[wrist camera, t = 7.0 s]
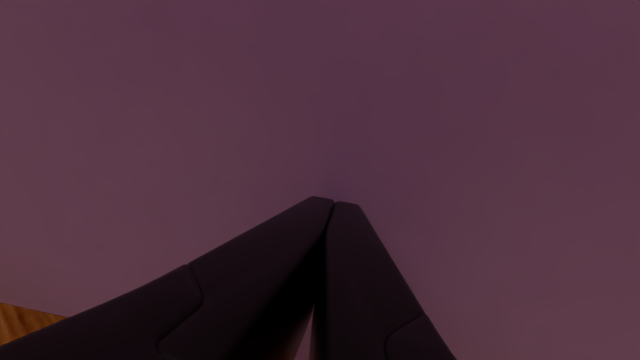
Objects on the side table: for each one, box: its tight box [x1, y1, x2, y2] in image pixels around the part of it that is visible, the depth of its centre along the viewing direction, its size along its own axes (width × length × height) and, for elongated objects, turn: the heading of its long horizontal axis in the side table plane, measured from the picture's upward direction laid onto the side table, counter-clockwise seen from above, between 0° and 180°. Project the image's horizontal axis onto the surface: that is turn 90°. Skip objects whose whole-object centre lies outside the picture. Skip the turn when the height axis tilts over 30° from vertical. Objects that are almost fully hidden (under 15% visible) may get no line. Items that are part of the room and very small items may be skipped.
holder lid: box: [0, 0, 640, 360], centre depth 9 cm, size 13×16×1 cm
